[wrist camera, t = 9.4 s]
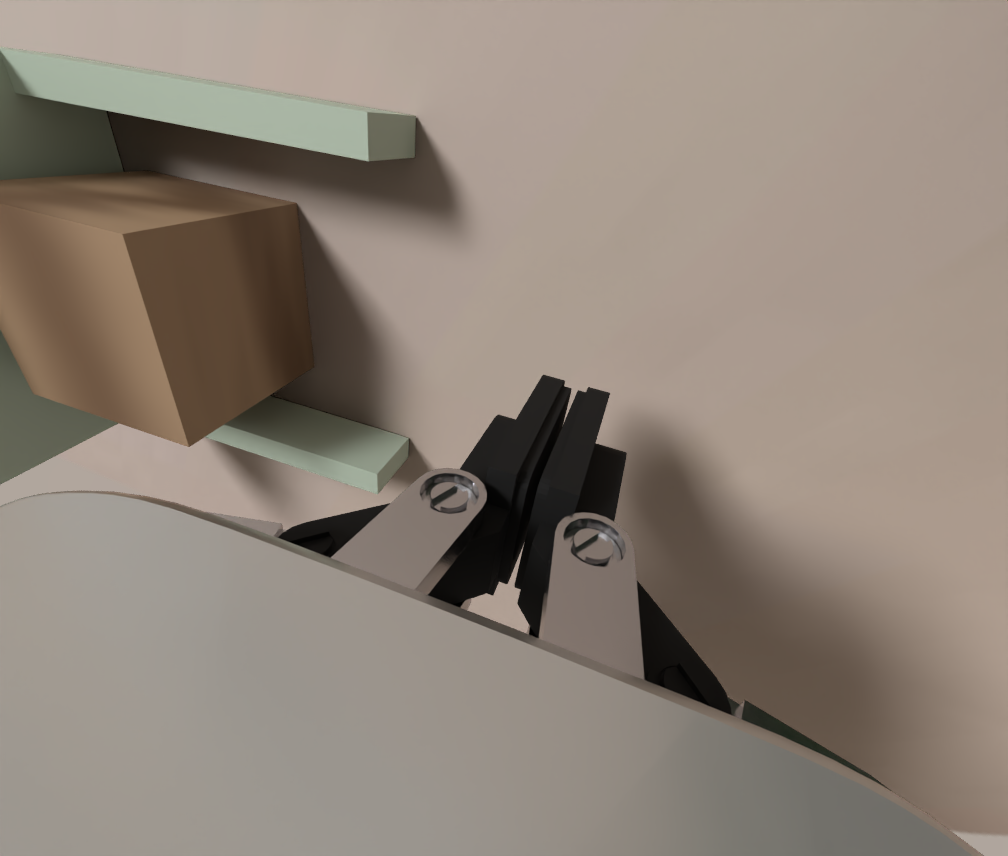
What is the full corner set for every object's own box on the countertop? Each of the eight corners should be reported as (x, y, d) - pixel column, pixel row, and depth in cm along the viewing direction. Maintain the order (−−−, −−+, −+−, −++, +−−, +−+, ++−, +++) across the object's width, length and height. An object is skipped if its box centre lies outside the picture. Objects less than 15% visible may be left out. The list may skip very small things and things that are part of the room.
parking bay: (415, 115, 13) (150, 94, 6) (408, 457, 19) (276, 616, 13) (54, 53, 15) (-418, -10, 8) (160, 379, 22) (-58, 483, 15)
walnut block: (298, 203, 15) (122, 234, 10) (315, 365, 19) (189, 446, 14) (149, 170, 16) (-74, 184, 11) (191, 330, 20) (33, 393, 15)
